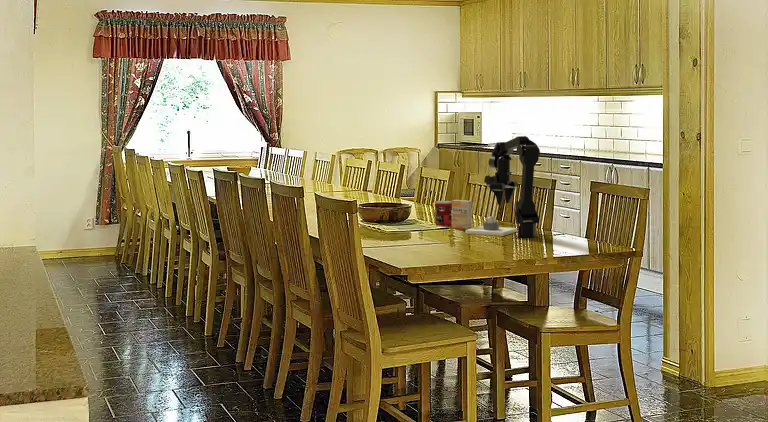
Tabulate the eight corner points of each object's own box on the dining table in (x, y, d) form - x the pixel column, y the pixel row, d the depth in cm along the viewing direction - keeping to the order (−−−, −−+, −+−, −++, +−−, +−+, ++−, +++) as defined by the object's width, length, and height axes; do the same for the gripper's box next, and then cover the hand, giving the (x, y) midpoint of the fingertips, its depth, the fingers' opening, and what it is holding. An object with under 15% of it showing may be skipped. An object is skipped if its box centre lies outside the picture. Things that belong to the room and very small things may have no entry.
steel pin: (496, 228, 425) (496, 216, 425) (493, 229, 422) (493, 217, 422) (489, 228, 427) (489, 216, 427) (486, 229, 424) (486, 217, 424)
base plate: (516, 231, 427) (516, 228, 427) (502, 235, 414) (502, 232, 413) (480, 229, 436) (480, 225, 436) (465, 233, 423) (465, 230, 422)
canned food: (432, 224, 456) (432, 201, 455) (446, 223, 460) (446, 200, 459) (439, 225, 450) (439, 202, 448) (454, 224, 453) (454, 201, 452)
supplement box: (451, 228, 440) (451, 200, 438) (455, 227, 444) (455, 199, 443) (467, 229, 436) (467, 201, 434) (471, 228, 440) (471, 200, 439)
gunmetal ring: (501, 228, 426) (501, 222, 426) (495, 230, 420) (495, 223, 420) (487, 227, 429) (487, 221, 429) (481, 229, 424) (481, 222, 423)
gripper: (495, 167, 441) (495, 201, 442) (478, 170, 425) (478, 205, 426) (517, 168, 435) (517, 202, 437) (501, 171, 419) (501, 206, 421)
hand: (503, 204), depth 430 cm, fingers open, 9 cm apart
